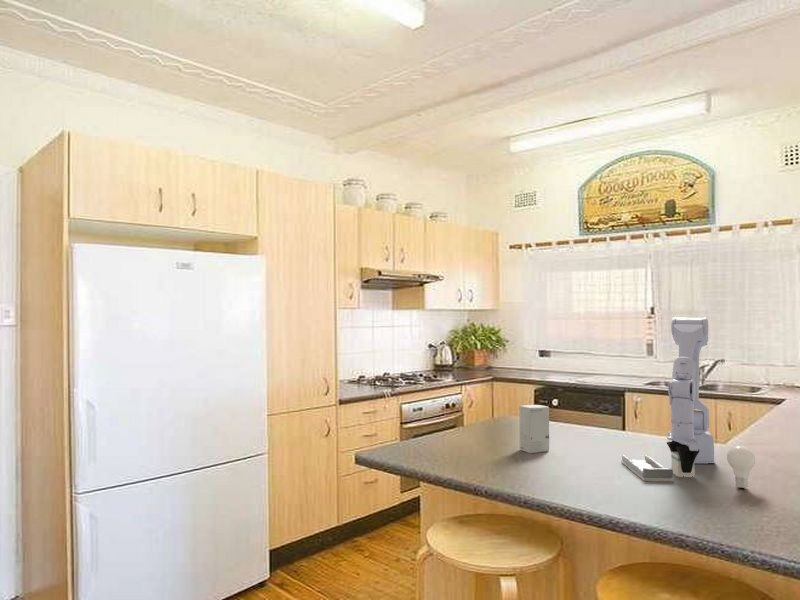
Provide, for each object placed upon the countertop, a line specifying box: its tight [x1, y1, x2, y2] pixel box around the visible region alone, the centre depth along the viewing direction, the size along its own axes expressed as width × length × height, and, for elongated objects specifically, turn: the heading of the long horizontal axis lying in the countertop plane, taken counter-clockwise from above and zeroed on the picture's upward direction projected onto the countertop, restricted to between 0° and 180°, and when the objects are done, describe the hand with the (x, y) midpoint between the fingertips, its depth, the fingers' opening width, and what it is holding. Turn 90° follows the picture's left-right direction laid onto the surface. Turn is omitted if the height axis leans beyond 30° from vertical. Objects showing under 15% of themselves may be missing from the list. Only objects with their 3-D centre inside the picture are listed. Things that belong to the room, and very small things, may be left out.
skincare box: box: [518, 404, 550, 454], centre depth 182 cm, size 8×6×15 cm
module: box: [670, 452, 696, 478], centre depth 154 cm, size 5×4×6 cm
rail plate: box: [621, 454, 675, 482], centre depth 158 cm, size 8×18×3 cm, turn 176°
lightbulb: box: [726, 445, 756, 489], centre depth 143 cm, size 6×6×11 cm
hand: (682, 469), depth 154 cm, fingers closed on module, 4 cm apart
